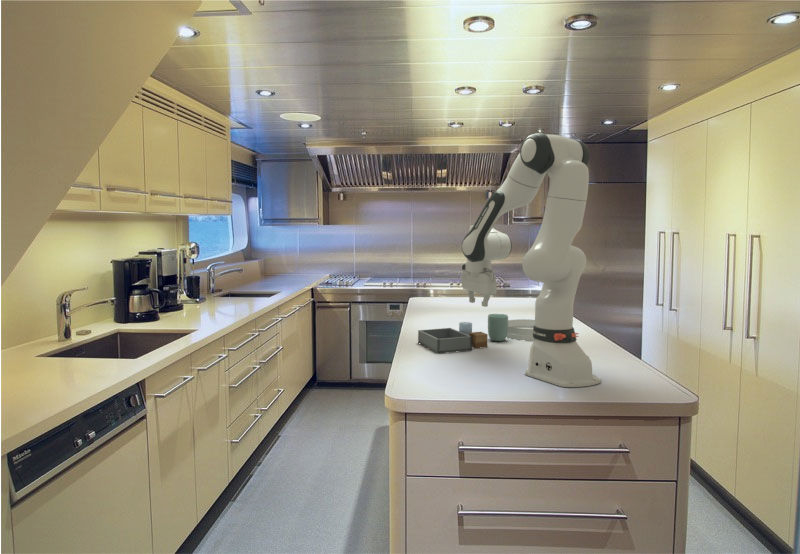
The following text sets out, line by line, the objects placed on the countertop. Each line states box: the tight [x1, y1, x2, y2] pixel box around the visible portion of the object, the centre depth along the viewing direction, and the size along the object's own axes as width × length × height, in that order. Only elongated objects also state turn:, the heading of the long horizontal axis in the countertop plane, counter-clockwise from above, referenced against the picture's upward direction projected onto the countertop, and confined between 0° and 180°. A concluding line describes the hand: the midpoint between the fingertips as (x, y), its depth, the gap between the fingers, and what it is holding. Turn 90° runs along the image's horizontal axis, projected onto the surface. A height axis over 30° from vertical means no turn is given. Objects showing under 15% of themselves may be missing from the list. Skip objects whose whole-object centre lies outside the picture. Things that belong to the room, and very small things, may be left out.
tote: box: [417, 327, 473, 354], centre depth 195 cm, size 18×14×5 cm
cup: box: [487, 313, 509, 342], centre depth 205 cm, size 8×8×10 cm
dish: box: [506, 318, 535, 342], centre depth 215 cm, size 22×22×5 cm
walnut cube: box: [469, 331, 489, 349], centre depth 195 cm, size 5×5×5 cm
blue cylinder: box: [458, 321, 473, 335], centre depth 205 cm, size 5×5×7 cm
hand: (478, 304), depth 194 cm, fingers open, 8 cm apart
